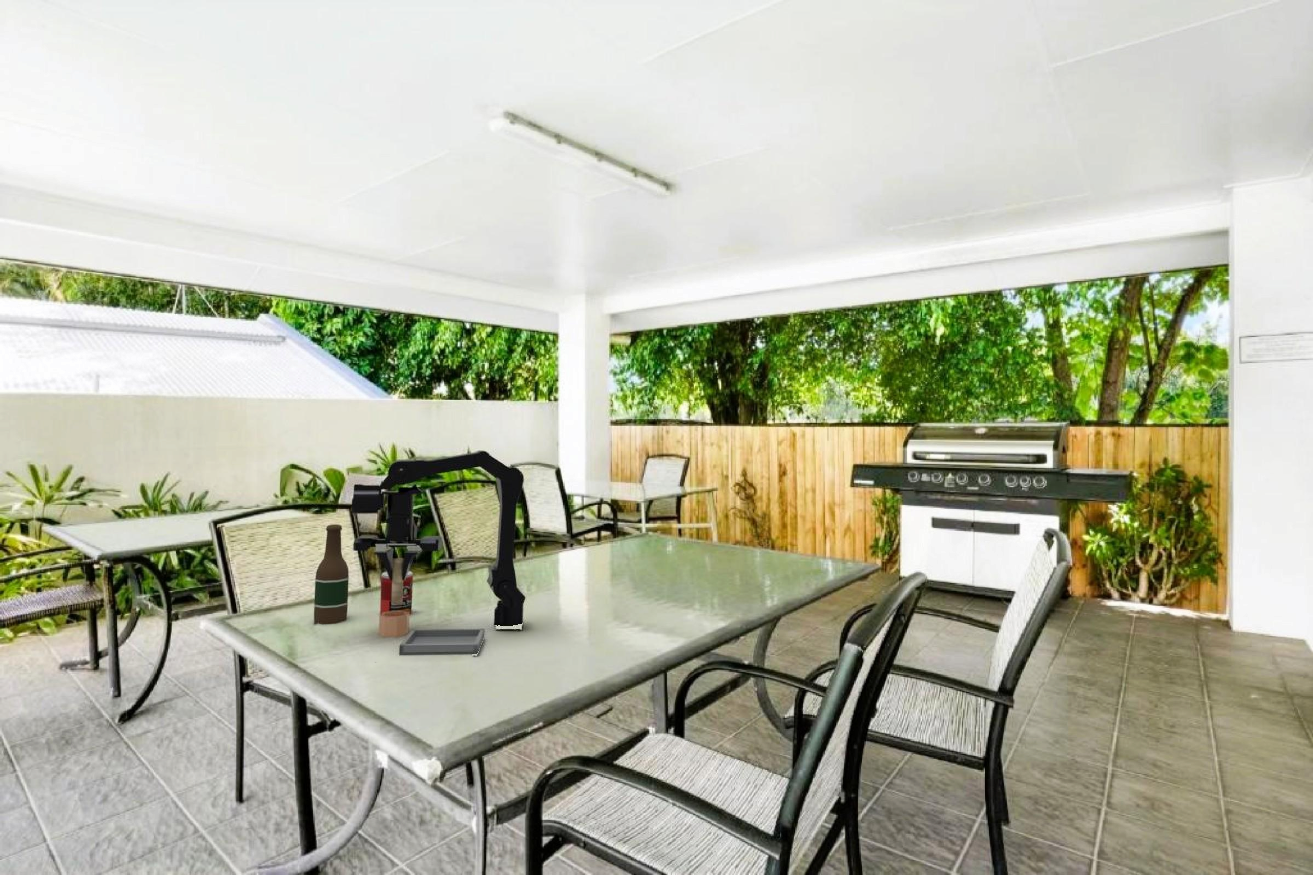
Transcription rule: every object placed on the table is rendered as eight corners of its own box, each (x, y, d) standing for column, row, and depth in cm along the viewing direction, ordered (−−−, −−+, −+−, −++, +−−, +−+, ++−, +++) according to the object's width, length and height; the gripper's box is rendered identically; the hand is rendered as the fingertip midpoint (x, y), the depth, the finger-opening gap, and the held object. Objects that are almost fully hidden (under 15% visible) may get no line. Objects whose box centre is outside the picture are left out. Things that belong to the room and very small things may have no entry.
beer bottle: (338, 626, 157) (341, 527, 158) (306, 625, 157) (310, 526, 158) (353, 618, 165) (357, 523, 165) (323, 617, 165) (327, 522, 166)
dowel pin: (403, 602, 153) (405, 557, 153) (401, 605, 151) (402, 559, 151) (392, 602, 153) (394, 557, 153) (390, 605, 150) (391, 559, 151)
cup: (410, 631, 155) (411, 610, 155) (404, 638, 149) (405, 617, 149) (383, 631, 154) (384, 610, 155) (376, 639, 148) (377, 617, 149)
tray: (484, 639, 151) (484, 628, 151) (477, 656, 139) (477, 644, 139) (412, 640, 149) (412, 629, 149) (399, 657, 137) (399, 645, 137)
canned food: (390, 621, 164) (392, 577, 164) (373, 615, 169) (375, 572, 169) (417, 615, 170) (419, 573, 170) (400, 610, 175) (402, 569, 175)
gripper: (447, 510, 161) (445, 573, 161) (368, 509, 159) (366, 573, 159) (438, 515, 150) (436, 583, 150) (353, 514, 148) (351, 583, 148)
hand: (397, 580), depth 152 cm, fingers closed on dowel pin, 2 cm apart
